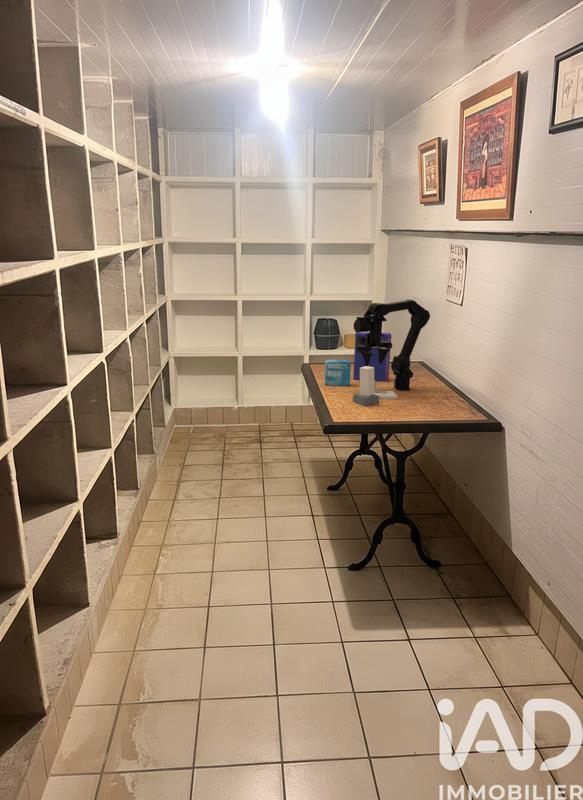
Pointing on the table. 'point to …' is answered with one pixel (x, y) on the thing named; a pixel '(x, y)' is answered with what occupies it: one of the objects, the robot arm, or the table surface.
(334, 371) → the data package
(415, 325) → the robot arm
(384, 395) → the tile
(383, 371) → the cereal box
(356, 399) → the charcoal slab
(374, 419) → the table surface
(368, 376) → the cream block
